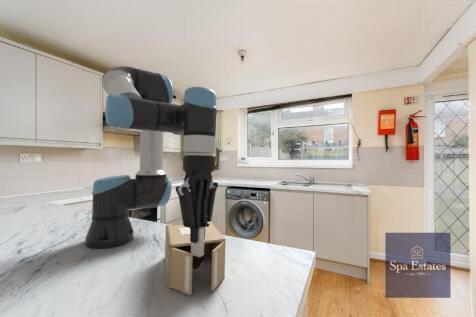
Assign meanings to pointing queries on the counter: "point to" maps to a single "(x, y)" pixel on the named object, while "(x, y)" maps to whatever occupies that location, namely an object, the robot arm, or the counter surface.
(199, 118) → the robot arm
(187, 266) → the flap near
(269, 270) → the counter surface
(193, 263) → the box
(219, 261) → the flap far
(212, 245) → the carton
